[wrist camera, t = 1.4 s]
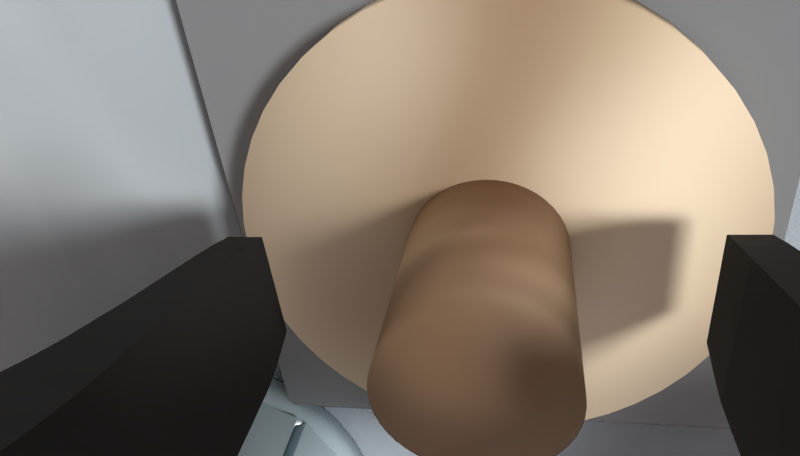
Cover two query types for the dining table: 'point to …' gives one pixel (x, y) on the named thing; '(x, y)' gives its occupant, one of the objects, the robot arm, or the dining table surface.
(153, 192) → the dining table surface
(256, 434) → the bowl
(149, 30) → the dining table surface
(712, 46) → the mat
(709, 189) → the lid
